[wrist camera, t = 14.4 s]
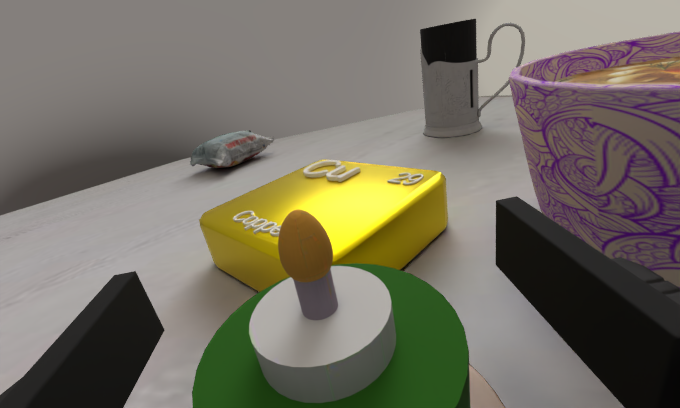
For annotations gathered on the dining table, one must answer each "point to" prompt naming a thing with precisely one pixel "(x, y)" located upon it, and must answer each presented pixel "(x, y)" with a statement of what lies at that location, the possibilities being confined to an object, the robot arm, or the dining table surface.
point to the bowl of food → (608, 146)
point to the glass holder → (454, 77)
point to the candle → (336, 337)
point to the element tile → (330, 217)
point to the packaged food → (230, 149)
